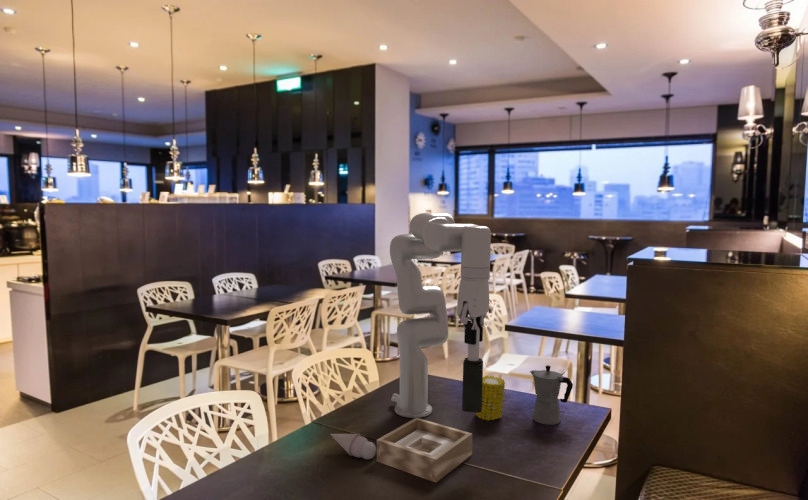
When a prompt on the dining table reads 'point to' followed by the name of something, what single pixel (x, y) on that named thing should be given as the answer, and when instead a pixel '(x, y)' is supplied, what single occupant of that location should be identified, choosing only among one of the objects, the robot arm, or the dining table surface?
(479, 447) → the dining table surface
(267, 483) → the dining table surface
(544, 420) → the coffeepot
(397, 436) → the box
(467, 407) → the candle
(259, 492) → the dining table surface
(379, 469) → the dining table surface
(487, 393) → the food
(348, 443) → the ice cream cone
